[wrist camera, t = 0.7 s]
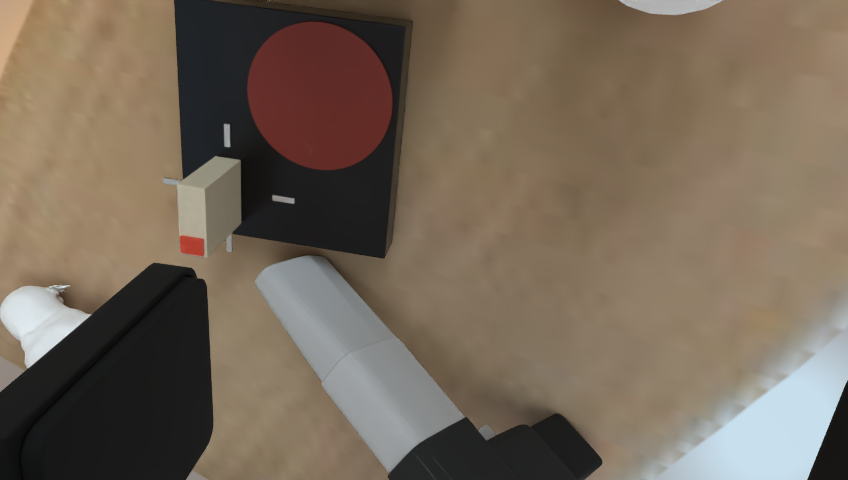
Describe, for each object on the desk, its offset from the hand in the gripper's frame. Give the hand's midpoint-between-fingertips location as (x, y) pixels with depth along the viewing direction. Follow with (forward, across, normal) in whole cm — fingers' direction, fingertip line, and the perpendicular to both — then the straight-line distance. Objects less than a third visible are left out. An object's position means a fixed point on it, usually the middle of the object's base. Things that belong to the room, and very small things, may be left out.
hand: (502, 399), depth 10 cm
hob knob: (+29, +17, +9) cm, 35 cm away
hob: (+32, +13, +5) cm, 35 cm away
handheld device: (+32, +3, +20) cm, 38 cm away
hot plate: (+29, +11, +3) cm, 31 cm away
